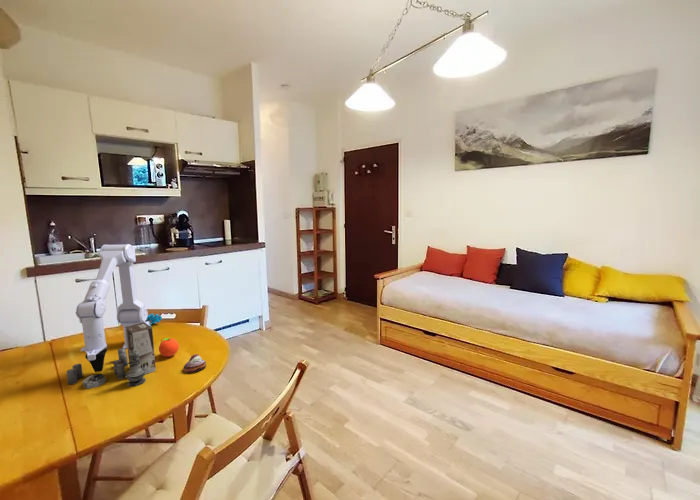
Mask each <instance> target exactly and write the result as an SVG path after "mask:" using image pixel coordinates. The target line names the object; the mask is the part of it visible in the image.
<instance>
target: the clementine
mask: <svg viewBox="0 0 700 500" xmlns="http://www.w3.org/2000/svg"><path fill="white" fill-rule="evenodd" d="M179 348H180V345H179V341H178V340H176V339H174V338H167V337H166V338H163V339H161V341H160V343H159V345H158V352H159V353H160V355H161V356H162V357H165V358H166V357H167V358H168V357H173V356H174V355H176V354H177V352H178V351H179Z"/></svg>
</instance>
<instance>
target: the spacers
mask: <svg viewBox="0 0 700 500" xmlns="http://www.w3.org/2000/svg"><path fill="white" fill-rule="evenodd" d="M126 349H127V348H123V347H122V348H118V349H117V355H118V359H117V360H114V361H113V362H112V364H113V371H114V375H115V376H116V378H117V380H123V379H125V378H127V377H126V376H125V374H126V367H127V366H128V365H129V364H128V362H129V360H128V352H127V351H126ZM71 367H72V368H70V369H68V370H66V378H67V384H68V385H69V386H70V385H75V384H77V383H78V380H79V379H81V378H83V377H84V375H83V368H82V363H75V364H74V365H72V366H71Z"/></svg>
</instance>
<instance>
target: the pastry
mask: <svg viewBox="0 0 700 500" xmlns="http://www.w3.org/2000/svg"><path fill="white" fill-rule="evenodd" d="M206 367H207V361H206V360H205V359H202V357H201V356H200V355H199V353H195V354H193V355H191V356H190V358H189V360H188V361H187V362H186V363H185V364H184V365H183V368H182V369H183V370H182V371H183V373H185V372H186V374H194V373H197V372H200V371H203V370H204V369H206Z"/></svg>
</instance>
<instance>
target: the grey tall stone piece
mask: <svg viewBox="0 0 700 500" xmlns="http://www.w3.org/2000/svg"><path fill="white" fill-rule="evenodd" d="M140 361H141V360H140V359H139V353H138V351H134V349H132V352H130V353H129V357H128V365H129V371H127V372H125V376H126V377H125V378H126V379H127V381H128V382H127V385H126V386H127V387H129V388H134V387H138V386H141V385H143V384H144V383H146V380H147V379H146V378H145V375H146V374H145V372H146V369H144V368H141V367H140Z"/></svg>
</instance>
